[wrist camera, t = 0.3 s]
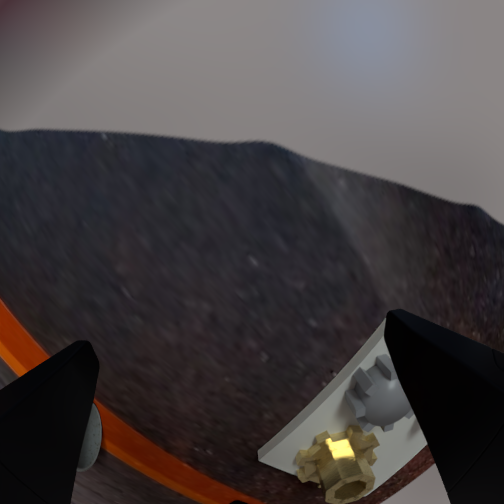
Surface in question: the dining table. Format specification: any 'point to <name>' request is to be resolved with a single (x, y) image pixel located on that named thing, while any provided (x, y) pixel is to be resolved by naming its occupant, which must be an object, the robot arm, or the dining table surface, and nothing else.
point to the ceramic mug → (91, 441)
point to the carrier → (355, 414)
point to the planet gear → (340, 464)
